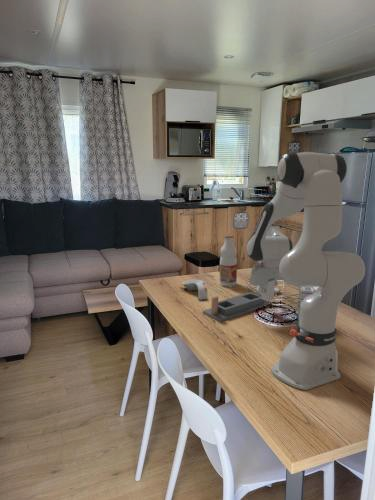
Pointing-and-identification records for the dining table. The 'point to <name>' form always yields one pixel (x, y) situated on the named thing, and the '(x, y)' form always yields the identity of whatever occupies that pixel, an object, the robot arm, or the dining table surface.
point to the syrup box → (303, 296)
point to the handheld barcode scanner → (196, 287)
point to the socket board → (235, 305)
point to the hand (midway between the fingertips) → (267, 291)
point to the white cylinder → (269, 290)
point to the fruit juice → (228, 262)
